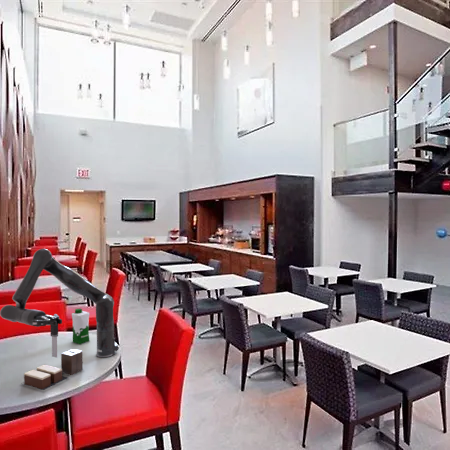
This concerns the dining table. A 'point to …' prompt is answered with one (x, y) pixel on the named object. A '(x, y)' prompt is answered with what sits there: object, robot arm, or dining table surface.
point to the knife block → (71, 361)
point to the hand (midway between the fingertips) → (58, 322)
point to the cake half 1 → (37, 379)
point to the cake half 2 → (51, 372)
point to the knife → (54, 336)
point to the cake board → (49, 385)
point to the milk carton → (80, 326)
